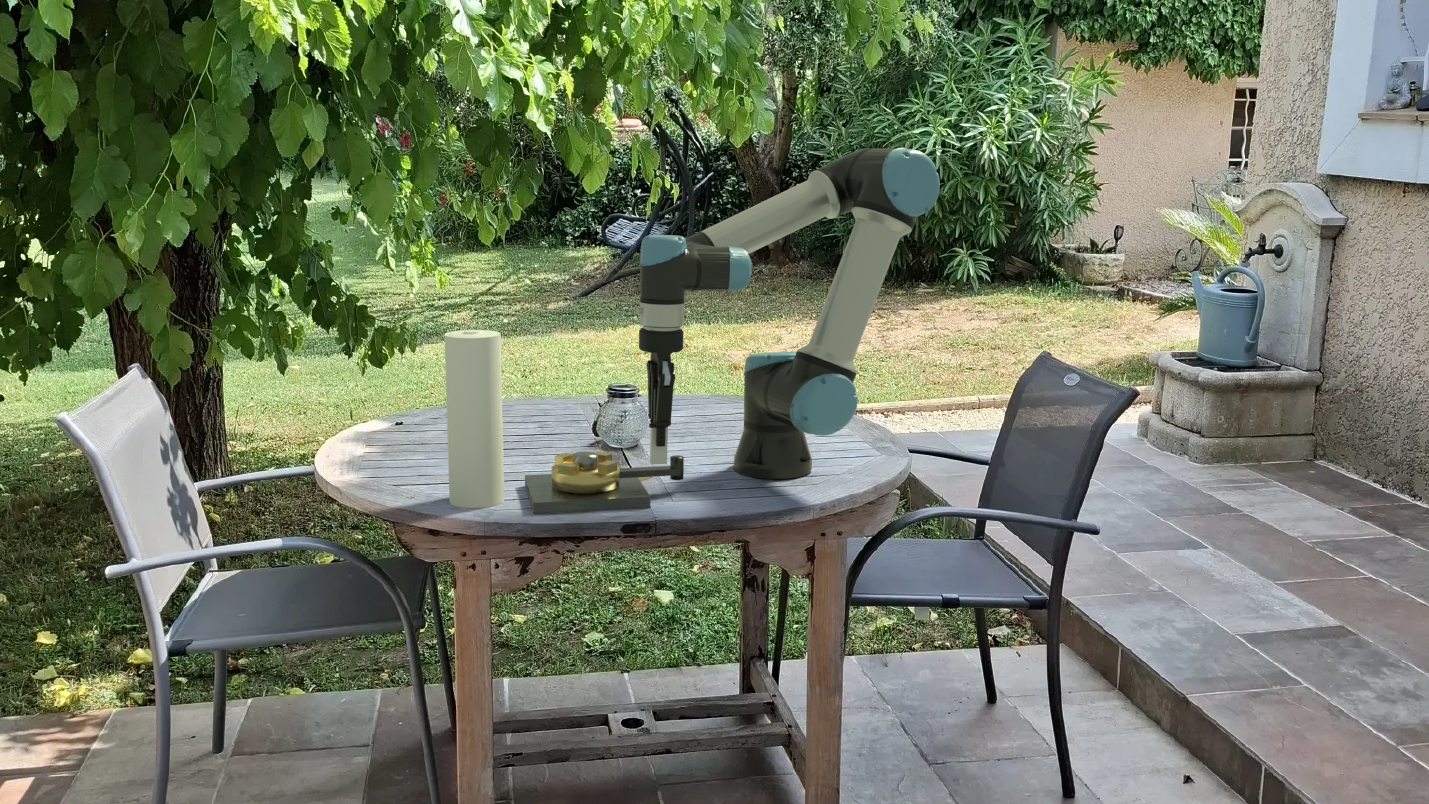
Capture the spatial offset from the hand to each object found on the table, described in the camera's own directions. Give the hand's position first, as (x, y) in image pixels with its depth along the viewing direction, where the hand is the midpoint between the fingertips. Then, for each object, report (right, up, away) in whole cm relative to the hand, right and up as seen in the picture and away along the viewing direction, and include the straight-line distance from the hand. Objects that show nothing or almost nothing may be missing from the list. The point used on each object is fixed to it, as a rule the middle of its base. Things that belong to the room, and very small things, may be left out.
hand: (658, 463), depth 211 cm
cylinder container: (-32, -7, +3) cm, 33 cm away
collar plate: (-12, -6, +8) cm, 16 cm away
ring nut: (-8, -4, +7) cm, 11 cm away
